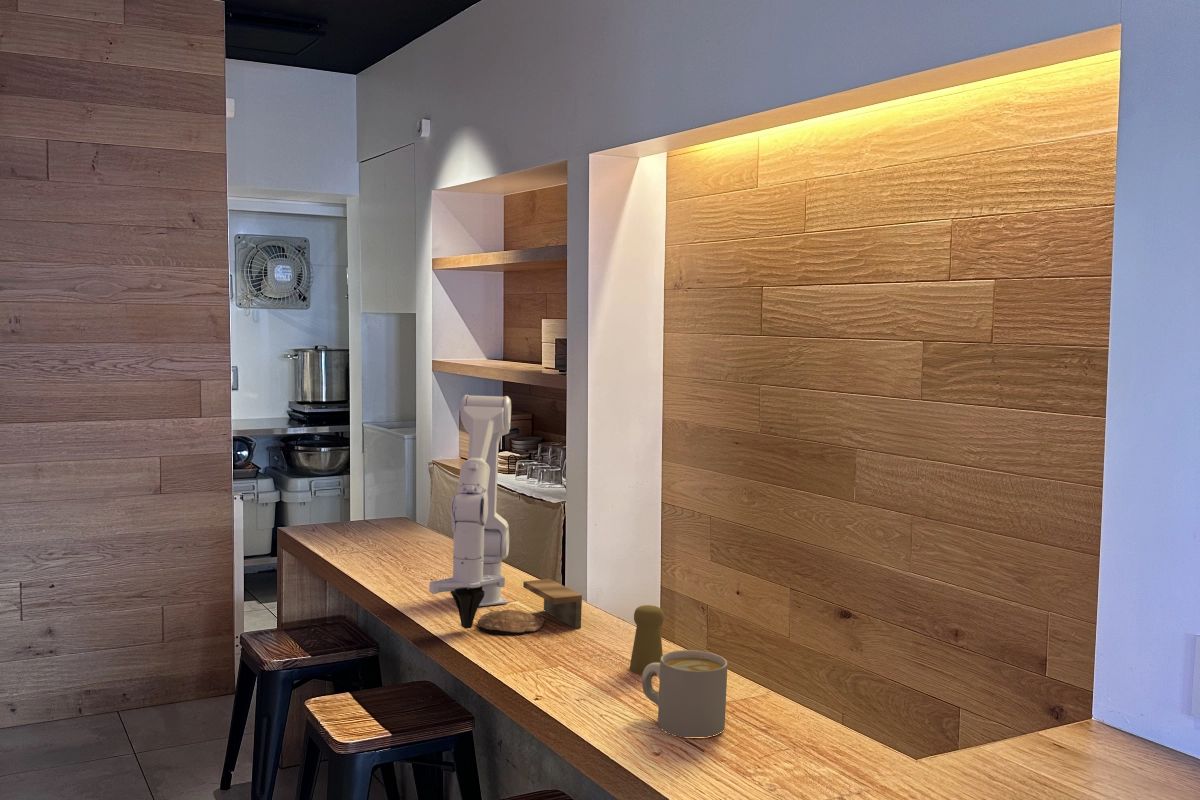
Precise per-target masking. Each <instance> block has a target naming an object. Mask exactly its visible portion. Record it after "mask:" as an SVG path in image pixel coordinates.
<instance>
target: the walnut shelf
mask: <svg viewBox="0 0 1200 800" xmlns="http://www.w3.org/2000/svg"><path fill="white" fill-rule="evenodd" d="M522 583H523V585H522V586H523V587H522V588H524V589H525V590H528V591H530V592H531V593H533V594H535V595H536V596H539V597H540V598H542V599H543V611H544V610H545V611H544V612H546V613H547V612H548V614H549V613H550V614H549V615H551V614H552V615H551V616H553V615H554V616H555V617H554V616H553V617H554V618H556V617H557V618H556V619H558V618H559V619H560V620H559V619H558V620H559V621H561V620H562V621H561V622H563V621H564V622H563V623H565V622H566V623H567V625H568V624H569V625H568V626H570V627H571V628H574V629H581V628H582V606H583V605H582V604H583V599H582V598H583V594H580V593H579V592H576V591H574V590H573V589H570V588H569V587H566V586H565V585H563V584H561V583H559V582H557V581H554V580H553V579H551V578H546V579H536V580H534V579H533V580H526V581H525V580H524V581H523V582H522ZM566 623H565V624H566Z"/></svg>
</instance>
